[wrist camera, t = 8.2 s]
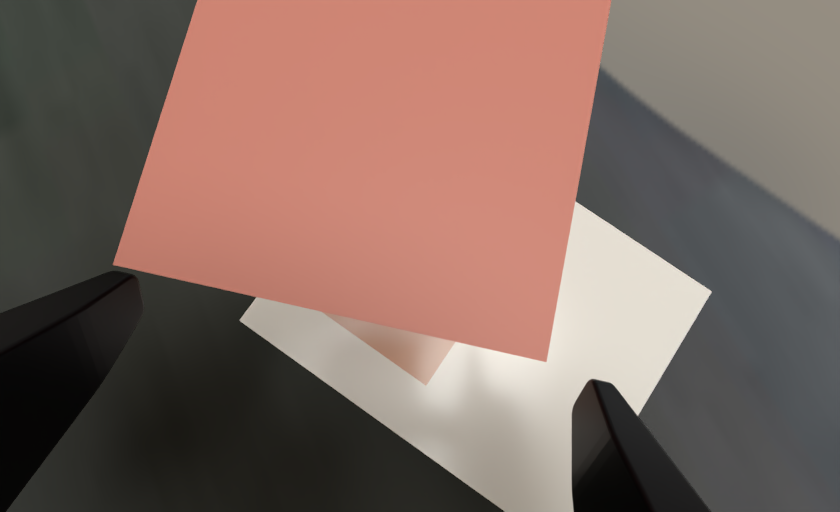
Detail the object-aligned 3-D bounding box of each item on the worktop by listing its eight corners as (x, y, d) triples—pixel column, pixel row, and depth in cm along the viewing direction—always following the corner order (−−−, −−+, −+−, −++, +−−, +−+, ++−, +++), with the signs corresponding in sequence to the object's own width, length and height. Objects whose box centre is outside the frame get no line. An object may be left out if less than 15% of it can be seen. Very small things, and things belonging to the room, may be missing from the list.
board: (692, 293, 19) (715, 291, 17) (547, 534, 17) (559, 552, 16) (409, 105, 20) (409, 89, 18) (250, 320, 18) (237, 320, 17)
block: (452, 333, 17) (546, 361, 5) (319, 304, 17) (113, 263, 5) (479, 204, 18) (617, -32, 6) (351, 176, 18) (234, -114, 6)
